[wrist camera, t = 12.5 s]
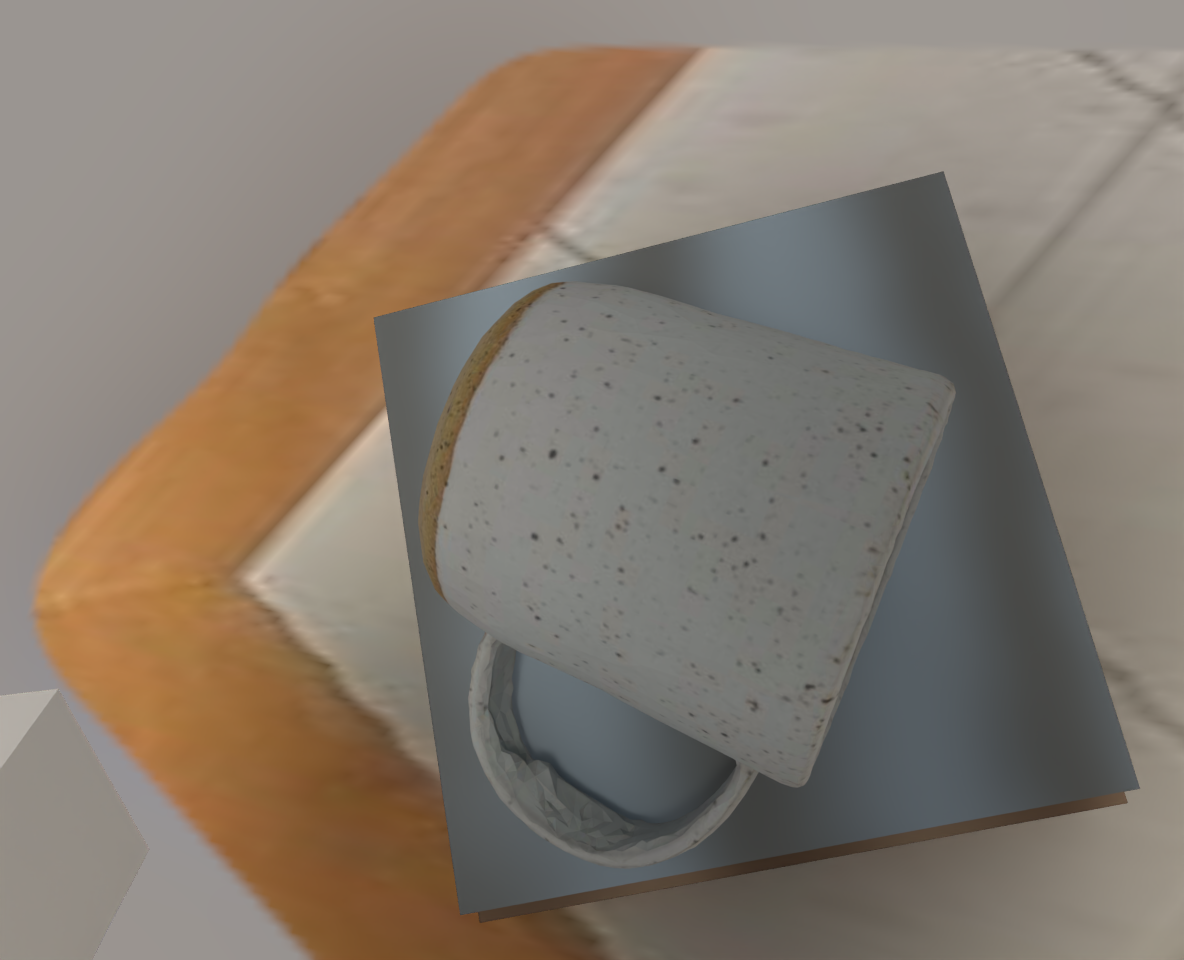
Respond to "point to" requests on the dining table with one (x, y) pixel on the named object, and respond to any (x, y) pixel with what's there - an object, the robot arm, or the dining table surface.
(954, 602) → the grey and brown block
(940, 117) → the dining table surface
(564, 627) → the ceramic mug
